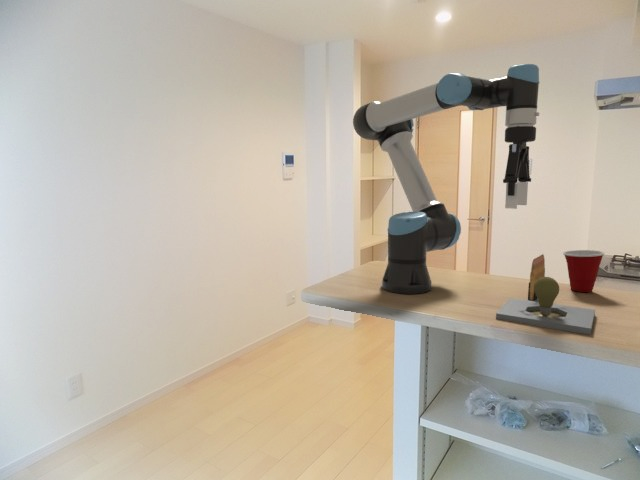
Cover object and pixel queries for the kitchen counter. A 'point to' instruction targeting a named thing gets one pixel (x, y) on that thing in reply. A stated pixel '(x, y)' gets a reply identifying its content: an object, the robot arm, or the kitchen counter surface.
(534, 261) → the ammunition clip
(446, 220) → the robot arm
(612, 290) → the kitchen counter surface
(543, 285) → the light bulb
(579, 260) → the plastic cup
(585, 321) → the socket plate
